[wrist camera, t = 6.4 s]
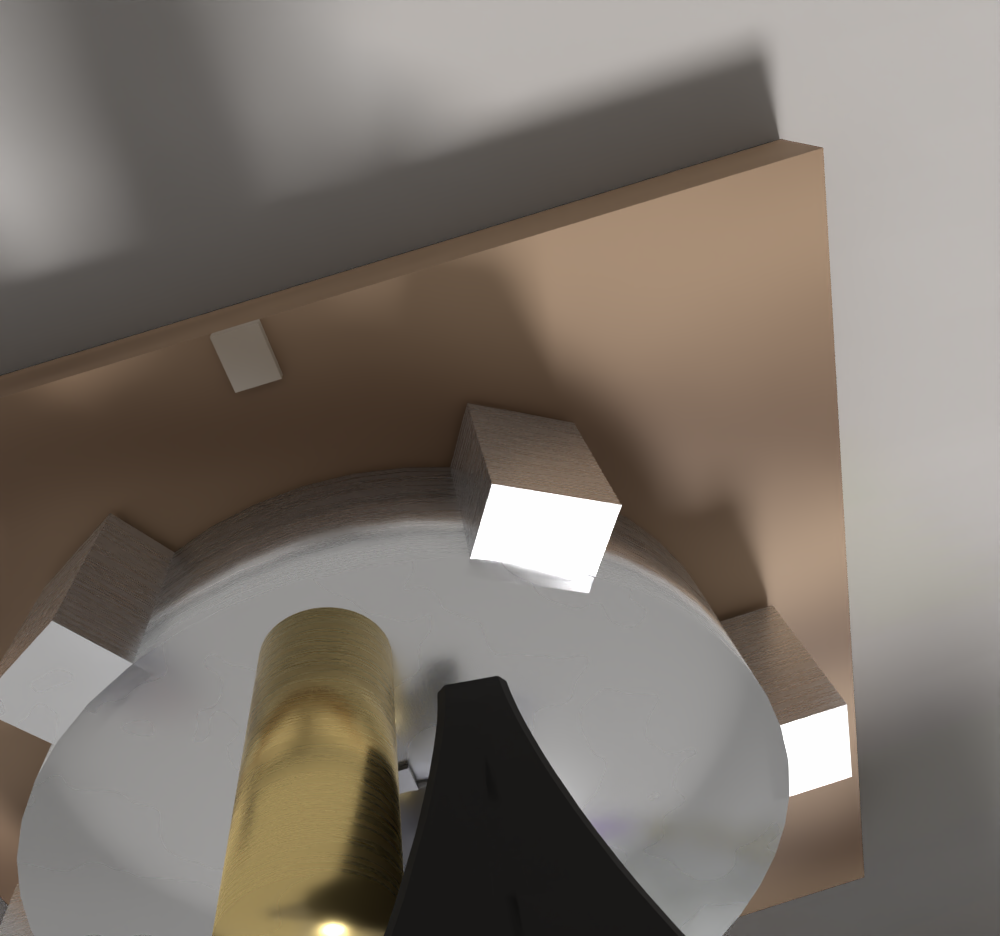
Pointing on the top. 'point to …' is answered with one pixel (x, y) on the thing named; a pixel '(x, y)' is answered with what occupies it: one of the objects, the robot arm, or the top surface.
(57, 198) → the top surface
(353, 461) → the base plate
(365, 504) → the gear wheel
